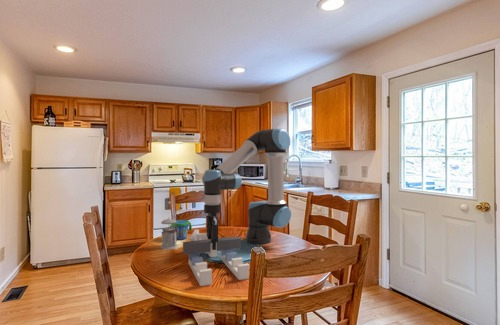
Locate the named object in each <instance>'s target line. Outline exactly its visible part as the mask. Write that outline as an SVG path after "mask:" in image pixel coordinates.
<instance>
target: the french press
mask: <svg viewBox="0 0 500 325" xmlns="http://www.w3.org/2000/svg"><path fill="white" fill-rule="evenodd" d="M166 204H168V205H170V204H172V203H171V201H167V202H166ZM176 221H177V220H175V219H173V218H166V219H163V220H162V221H161V224H162V225H171V224H174V223H176ZM174 227H175V225H174ZM174 227H172V228H170V227H164V228H162V229H161V230H162V231H161V245H160V246H159V249H161V250H166V251H167V250H174V249H177V248H178V247H179V245H178V244H177V239H176V238H177V237H176V231H174V230H176V229H175V228H174ZM176 228H177V227H176ZM173 233H174V234H173ZM177 236H178V229H177Z"/></svg>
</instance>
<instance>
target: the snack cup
mask: <svg viewBox="0 0 500 325" xmlns="http://www.w3.org/2000/svg"><path fill="white" fill-rule="evenodd" d="M175 221H176V223H174V224H169V228H173V227H174V225H175V227H174V228H175V229H176V230H174V231H176V237H177V238H176V240H179V241H180V240H185V239H187V238H188V232H189V231H191V232H192V229H193V226H192V223H191V222H190V221H189V220H187V219H185V220H184V219H183V220H182V219H177V220H175ZM176 227H177V228H176ZM177 229H178V236H177ZM173 235H174V233H173Z"/></svg>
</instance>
